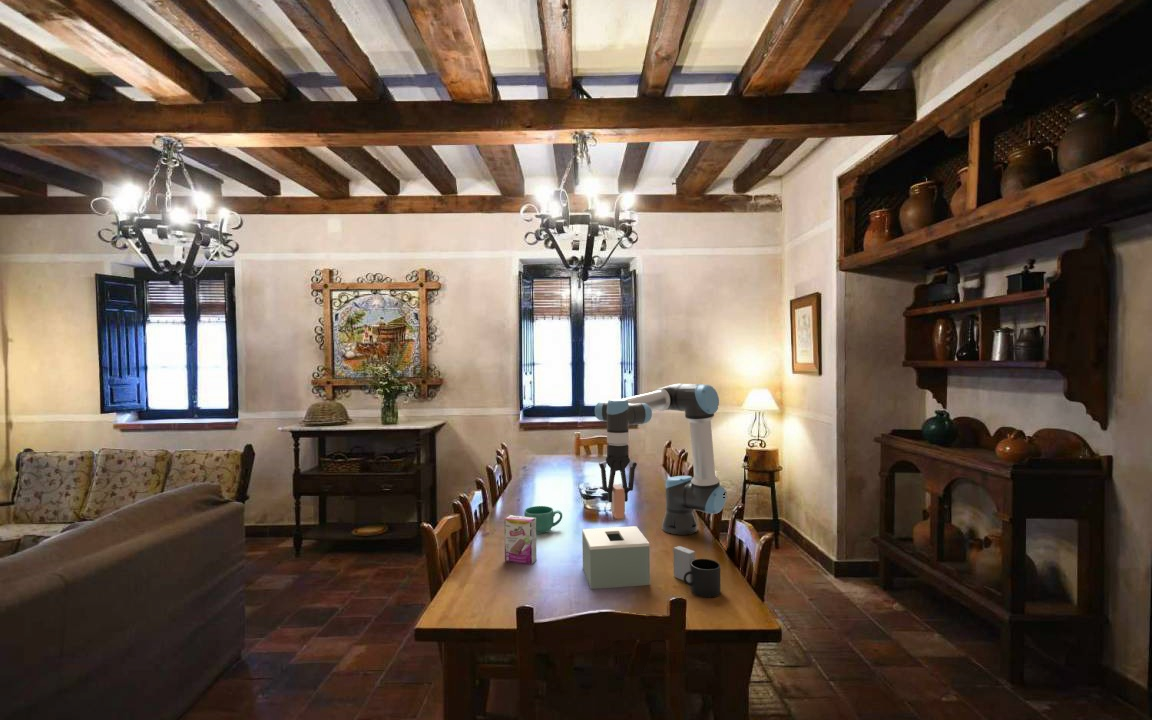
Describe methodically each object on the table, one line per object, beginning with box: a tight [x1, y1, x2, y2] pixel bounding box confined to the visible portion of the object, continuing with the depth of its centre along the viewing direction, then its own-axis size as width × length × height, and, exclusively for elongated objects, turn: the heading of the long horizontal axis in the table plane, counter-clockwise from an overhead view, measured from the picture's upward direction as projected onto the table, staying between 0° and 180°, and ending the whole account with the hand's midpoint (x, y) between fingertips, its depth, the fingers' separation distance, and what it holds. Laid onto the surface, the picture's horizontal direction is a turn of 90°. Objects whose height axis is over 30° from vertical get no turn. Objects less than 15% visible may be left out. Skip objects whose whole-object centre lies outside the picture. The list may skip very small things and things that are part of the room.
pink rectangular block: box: [611, 484, 625, 520], centre depth 190 cm, size 3×7×10 cm, turn 8°
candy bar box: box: [504, 514, 537, 566], centre depth 203 cm, size 11×5×16 cm, turn 71°
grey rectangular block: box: [673, 545, 696, 583], centre depth 186 cm, size 3×7×10 cm, turn 38°
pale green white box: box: [581, 525, 651, 590], centre depth 189 cm, size 20×18×14 cm
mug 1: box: [523, 505, 563, 535], centre depth 238 cm, size 17×13×10 cm
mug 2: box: [683, 558, 722, 599], centre depth 175 cm, size 9×12×9 cm
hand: (617, 510), depth 190 cm, fingers closed on pink rectangular block, 3 cm apart
